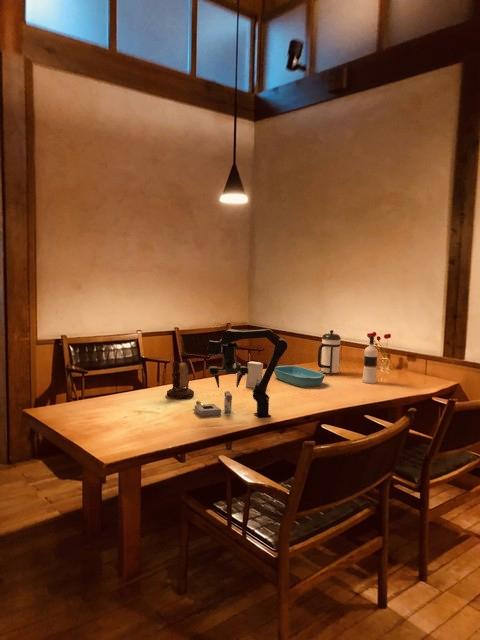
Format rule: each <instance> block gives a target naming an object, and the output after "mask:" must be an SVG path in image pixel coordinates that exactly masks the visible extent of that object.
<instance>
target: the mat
mask: <svg viewBox="0 0 480 640" xmlns="http://www.w3.org/2000/svg"><path fill="white" fill-rule="evenodd" d="M221 414H223V415H224V416H234V415H236V413H235V412H234V411H233V410H231V413H224V409H223V410H222V409H221Z"/></svg>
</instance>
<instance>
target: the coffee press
mask: <svg viewBox="0 0 480 640" xmlns="http://www.w3.org/2000/svg"><path fill="white" fill-rule="evenodd" d="M329 332H330V333H324V334H323V335H322V336H321V344H320V345H319V347H318V350H317V351H318V352H317V353H318V354H317V366H318V368H319V370H318V372H320V373H326V374H329V376H333V374H336V373H337V374H338V375H341V372H340V358H341V357H340V356H341V341H342V338H341V336H340V335H339V334H338V333H334V330H332V329H331V330H330V331H329ZM338 372H339V373H338Z"/></svg>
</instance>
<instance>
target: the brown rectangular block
mask: <svg viewBox="0 0 480 640" xmlns="http://www.w3.org/2000/svg"><path fill="white" fill-rule="evenodd" d="M232 400H233V395H232V394H231V392H230V391H224V402H223V404H224V408H223V410H224V413H231V411H232V409H233V408H232V404H233V403H232V402H233V401H232Z"/></svg>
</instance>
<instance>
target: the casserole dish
mask: <svg viewBox="0 0 480 640" xmlns="http://www.w3.org/2000/svg"><path fill="white" fill-rule="evenodd" d="M320 372H321V371H316V370H313V369H309V368H307V367H303V366H299V365H278V366H277V365H276V367H275V370H274V372H273V374H274V375H275V377H276V378H277V379H278V380H279V381H282V382H285V383H287V384H290V385H294V386H295V387H296V386H297V387H301V388H308V387H315V386H320V385H321V384H322V383H323V380H324V378H325V377H326V374H324V373H323V372H321V373H320Z"/></svg>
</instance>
